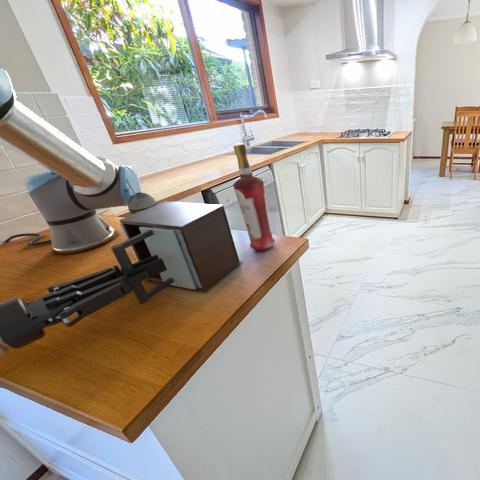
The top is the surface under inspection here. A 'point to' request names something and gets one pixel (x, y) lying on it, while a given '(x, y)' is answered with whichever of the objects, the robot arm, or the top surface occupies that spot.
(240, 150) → the liquor
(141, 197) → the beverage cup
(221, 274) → the cabinet
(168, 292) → the top surface
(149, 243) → the glass door
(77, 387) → the top surface
